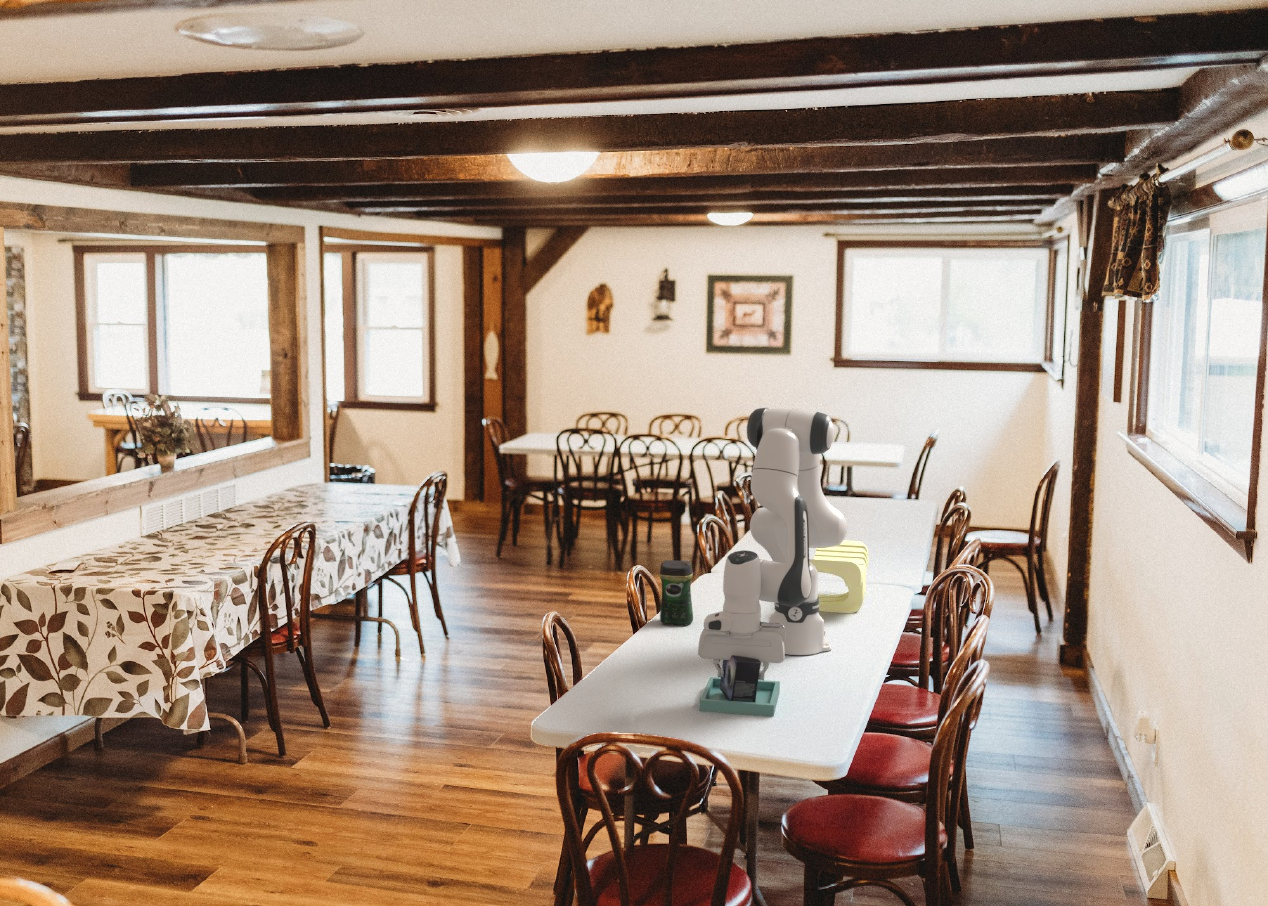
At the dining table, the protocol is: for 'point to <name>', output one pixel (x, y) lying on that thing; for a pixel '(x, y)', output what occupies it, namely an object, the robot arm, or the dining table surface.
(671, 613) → the coffee jar
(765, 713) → the teal tray
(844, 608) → the slatted curved stool
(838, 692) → the dining table surface
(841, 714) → the dining table surface
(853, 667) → the dining table surface
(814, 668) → the dining table surface
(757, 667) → the small box
